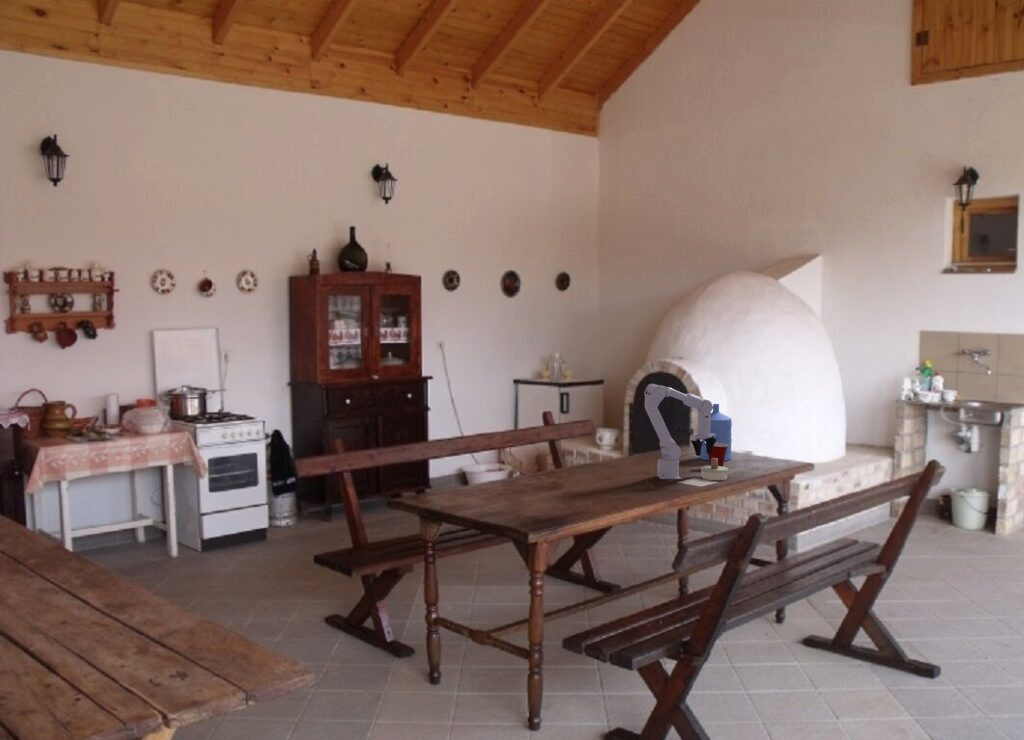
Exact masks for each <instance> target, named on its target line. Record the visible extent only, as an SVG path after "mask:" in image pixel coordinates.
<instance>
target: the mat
mask: <svg viewBox="0 0 1024 740" xmlns="http://www.w3.org/2000/svg"><path fill="white" fill-rule="evenodd" d="M676 483H677V484H685V485H689V486H690V485H691V486H695V487H701V488H702V487H705V486H709V485H713V484H717V483H719V481H715V480H707V479H703V478H702V479H701V478H696V477H695V478H694V477H693V478H688V479H685V480H682V481H677V482H676Z"/></svg>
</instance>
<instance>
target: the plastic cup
mask: <svg viewBox="0 0 1024 740" xmlns="http://www.w3.org/2000/svg"><path fill="white" fill-rule="evenodd" d="M728 446H729V445H728V444H724V443H718V442H715V444H714V446H713V449H712V453H711V454H708V455H709V461H708V462H709V466H711V458H718V466H722V467H724V462H725V461H724V459H725V454H726V450H727V447H728Z"/></svg>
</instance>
